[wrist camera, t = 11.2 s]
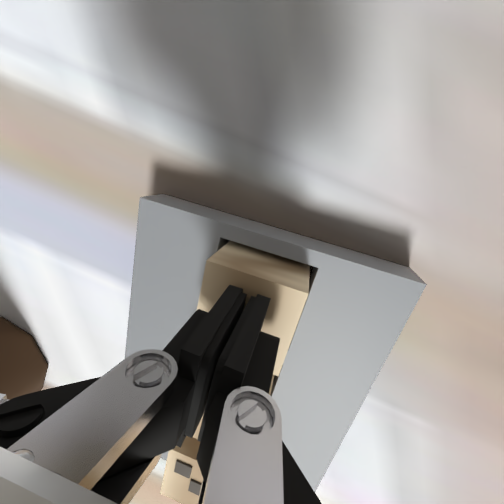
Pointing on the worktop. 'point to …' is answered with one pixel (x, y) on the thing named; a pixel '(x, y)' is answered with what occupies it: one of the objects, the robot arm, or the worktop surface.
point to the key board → (309, 325)
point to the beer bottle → (19, 362)
